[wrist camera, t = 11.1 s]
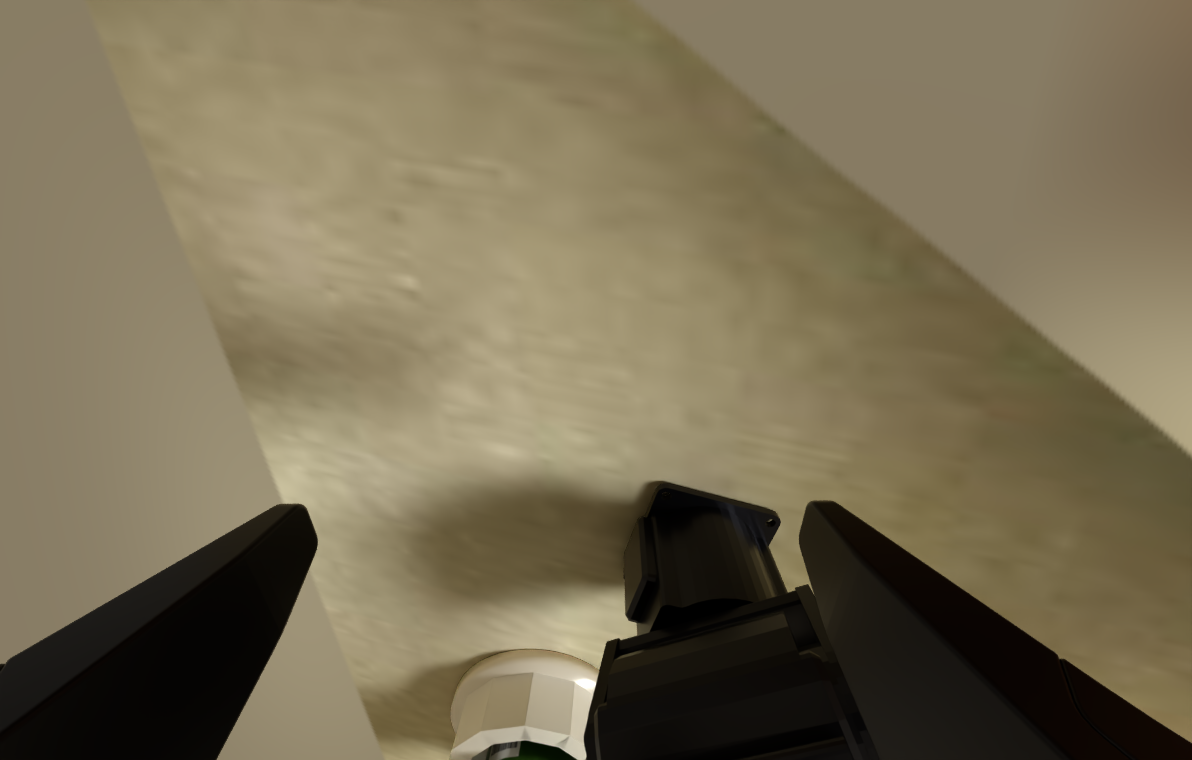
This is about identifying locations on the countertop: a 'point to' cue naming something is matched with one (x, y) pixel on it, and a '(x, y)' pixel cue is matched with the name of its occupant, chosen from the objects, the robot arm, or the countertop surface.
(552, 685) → the can holder
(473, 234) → the countertop surface
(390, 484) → the countertop surface
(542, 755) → the beer can
